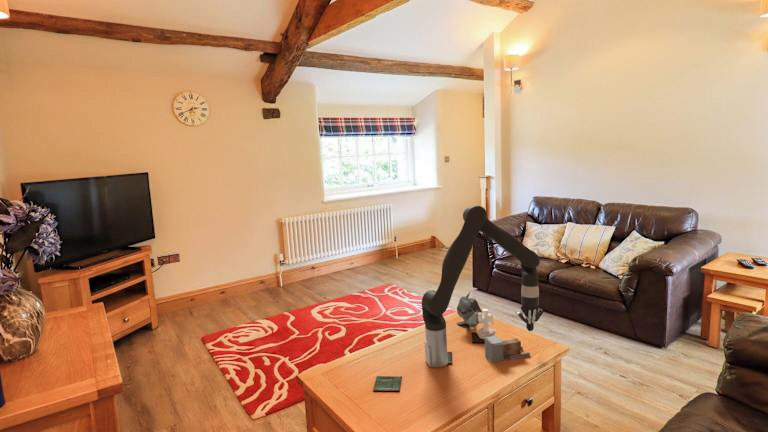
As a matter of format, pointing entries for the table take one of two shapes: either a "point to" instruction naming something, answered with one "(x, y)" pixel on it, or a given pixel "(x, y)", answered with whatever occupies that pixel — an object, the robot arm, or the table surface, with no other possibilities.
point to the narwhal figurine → (468, 312)
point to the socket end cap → (494, 349)
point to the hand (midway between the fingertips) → (529, 330)
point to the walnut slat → (511, 347)
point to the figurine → (485, 324)
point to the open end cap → (519, 355)
